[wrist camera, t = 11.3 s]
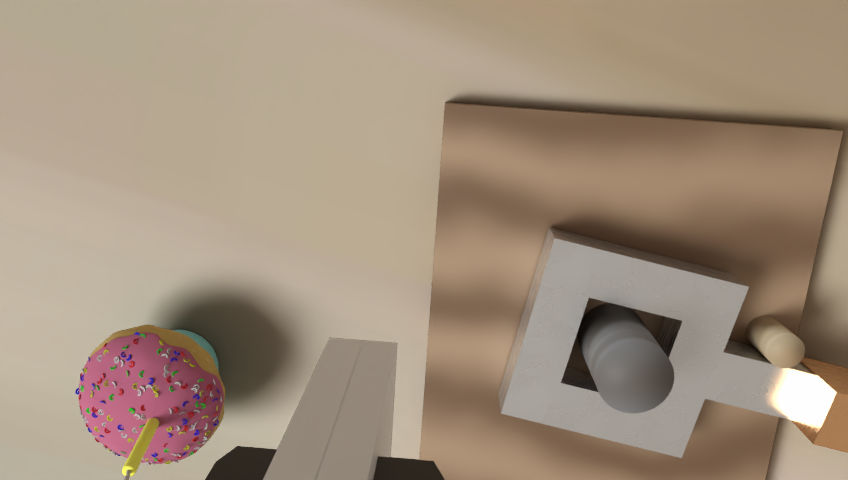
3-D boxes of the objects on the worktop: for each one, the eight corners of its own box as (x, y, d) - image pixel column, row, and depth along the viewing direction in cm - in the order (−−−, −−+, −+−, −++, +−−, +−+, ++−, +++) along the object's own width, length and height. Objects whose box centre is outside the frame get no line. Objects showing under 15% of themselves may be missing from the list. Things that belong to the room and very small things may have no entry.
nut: (498, 393, 42) (503, 434, 38) (548, 227, 39) (560, 249, 35) (799, 467, 42) (841, 517, 38) (871, 308, 40) (926, 340, 35)
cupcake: (257, 322, 43) (184, 418, 32) (233, 436, 46) (156, 564, 34) (127, 288, 43) (5, 371, 32) (109, 403, 45) (-11, 521, 34)
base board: (445, 102, 39) (442, 111, 32) (831, 128, 38) (913, 144, 32) (417, 491, 46) (409, 568, 39) (745, 521, 45) (797, 604, 38)
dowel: (749, 314, 40) (771, 333, 37) (783, 316, 40) (808, 336, 37) (743, 345, 41) (764, 366, 38) (776, 347, 41) (800, 369, 38)
